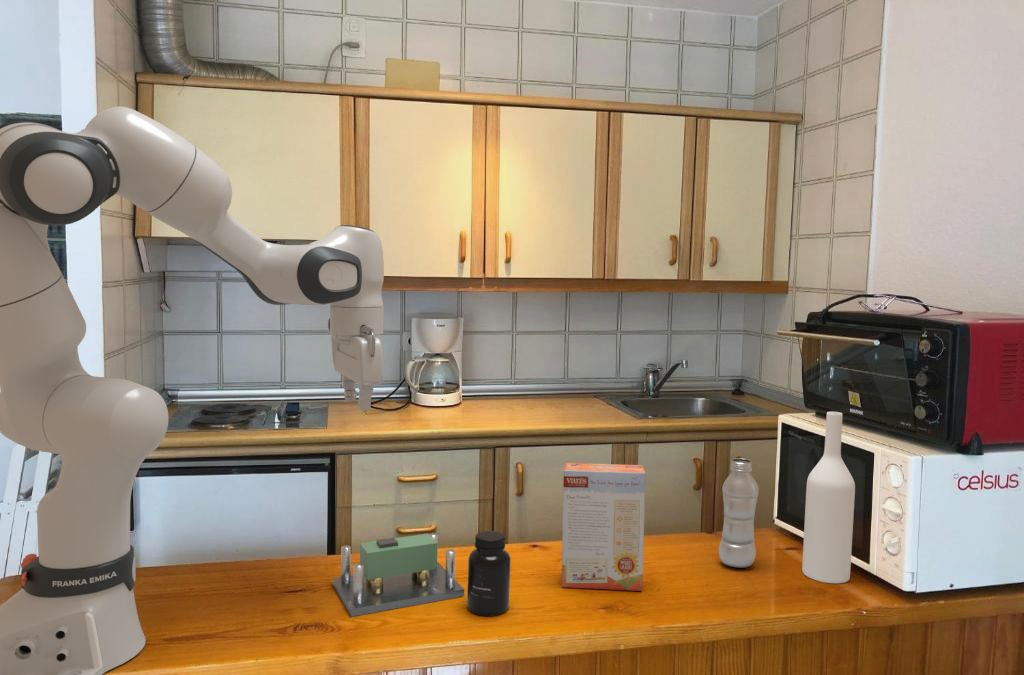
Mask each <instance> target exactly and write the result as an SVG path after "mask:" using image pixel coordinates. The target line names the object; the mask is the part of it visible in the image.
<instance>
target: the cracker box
mask: <svg viewBox="0 0 1024 675" xmlns="http://www.w3.org/2000/svg"><path fill="white" fill-rule="evenodd" d="M562 486H563V490H562V494H563V495H562V528H561V530H562V532H561V535H562V537H561V538H562V540H561V587H562V588H573V589H576V588H577V589H594V590H600V589H601V590H611V591H612V590H615V591H616V590H617V591H633V592H635V591H636V592H643V588H644V587H643V584H644V583H643V581H644V580H643V579H644V542H645V506H646V505H645V500H646V498H645V497H646V471H645V468H644V466H643V465H642V464H618V463H617V464H615V463H614V464H613V463H589V462H588V463H586V462H585V463H583V462H564V467H563V485H562Z"/></svg>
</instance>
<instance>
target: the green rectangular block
mask: <svg viewBox="0 0 1024 675" xmlns="http://www.w3.org/2000/svg"><path fill="white" fill-rule="evenodd" d="M429 534H430V533H422V534H415V535H408V536H401V537H389V538H382V539H376V540H373V541H372V540H371V541H367V542H360V543H359V563H361V564H363V565H364V576H365V577H366V579H367V580H371V579H377V578H384V577H390V576H396V575H402V574H408V573H414V572H421V571H427V570H433V569H437V542H436V541H435V540H434V539H433V538H432V537H431V536H430V535H429Z"/></svg>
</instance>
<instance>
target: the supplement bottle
mask: <svg viewBox="0 0 1024 675" xmlns="http://www.w3.org/2000/svg"><path fill="white" fill-rule="evenodd" d="M474 541H475V542H474V549H473V550H472V551H471V552H470V553H469V555H468V562H467V564H468V565H467V592H466V597H467V599H466V600H467V601H466V605H467V608H468V610H469V611H470V612H472V613H473V614H475V615H478V614H479V616H483V615H495V616H498V615H497V614H499V615H501V614H500V613H502V614H504V613H505V612H506V611H507V610H508V609H509V606H510V592H511V590H510V588H511V565H512V564H511V562H512V560H511V556H510V554H509V552H508V551H507V550H506V535H505V534H504V533H503V532H500V531H495V530H484V531H479V532H477V533H476V534H475V540H474ZM503 612H504V613H503Z"/></svg>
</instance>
